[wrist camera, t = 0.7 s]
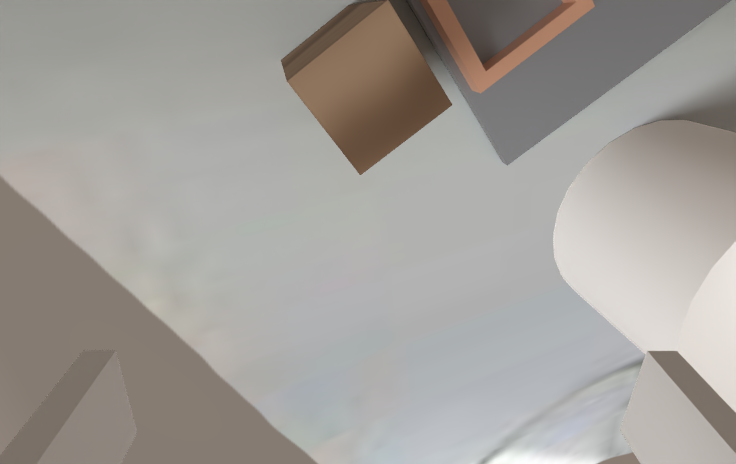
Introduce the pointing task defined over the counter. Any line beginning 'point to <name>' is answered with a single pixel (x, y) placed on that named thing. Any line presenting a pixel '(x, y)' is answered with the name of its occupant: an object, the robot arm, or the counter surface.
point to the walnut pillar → (365, 82)
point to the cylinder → (659, 243)
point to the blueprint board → (547, 55)
